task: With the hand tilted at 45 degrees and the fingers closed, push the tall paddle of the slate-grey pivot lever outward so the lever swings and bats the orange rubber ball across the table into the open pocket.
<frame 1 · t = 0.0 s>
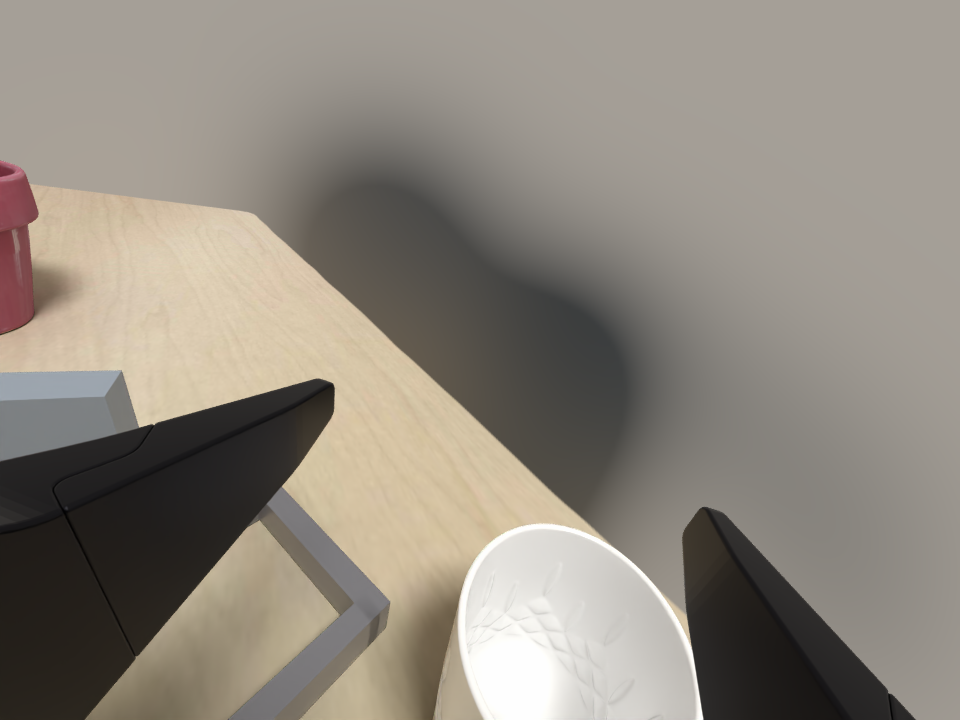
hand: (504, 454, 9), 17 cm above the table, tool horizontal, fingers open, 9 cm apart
pocket: (224, 627, 19), on the table
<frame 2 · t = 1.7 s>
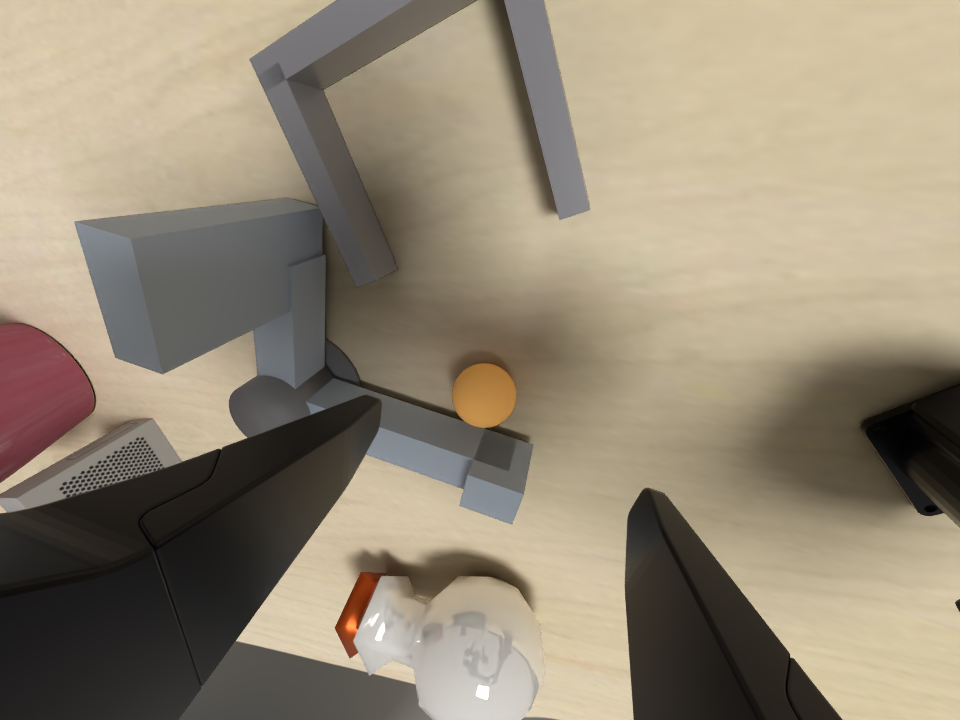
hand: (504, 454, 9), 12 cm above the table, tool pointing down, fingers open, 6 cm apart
pivot plate: (314, 379, 26), on the table
plant pot: (52, 371, 33), on the table
lever: (365, 396, 18), point 5 cm above the table, hinge at 0.0°
potion bottle: (460, 583, 32), on the table
ball: (484, 395, 21), point 2 cm above the table
pocket: (440, 144, 18), on the table
cassette player: (193, 487, 36), on the table
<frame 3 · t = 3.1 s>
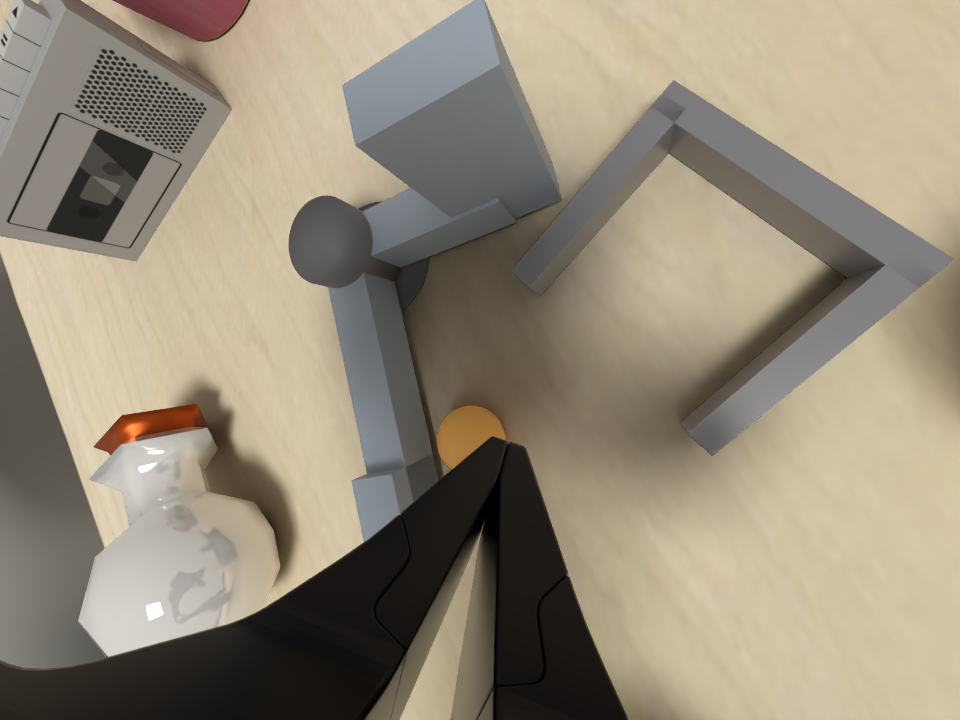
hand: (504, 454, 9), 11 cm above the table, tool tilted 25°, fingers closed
pivot plate: (378, 261, 24), on the table
lever: (418, 338, 16), point 5 cm above the table, hinge at 0.0°
potion bottle: (244, 504, 29), on the table
ball: (471, 439, 20), point 2 cm above the table
pocket: (679, 282, 18), on the table
cassette player: (177, 181, 31), on the table
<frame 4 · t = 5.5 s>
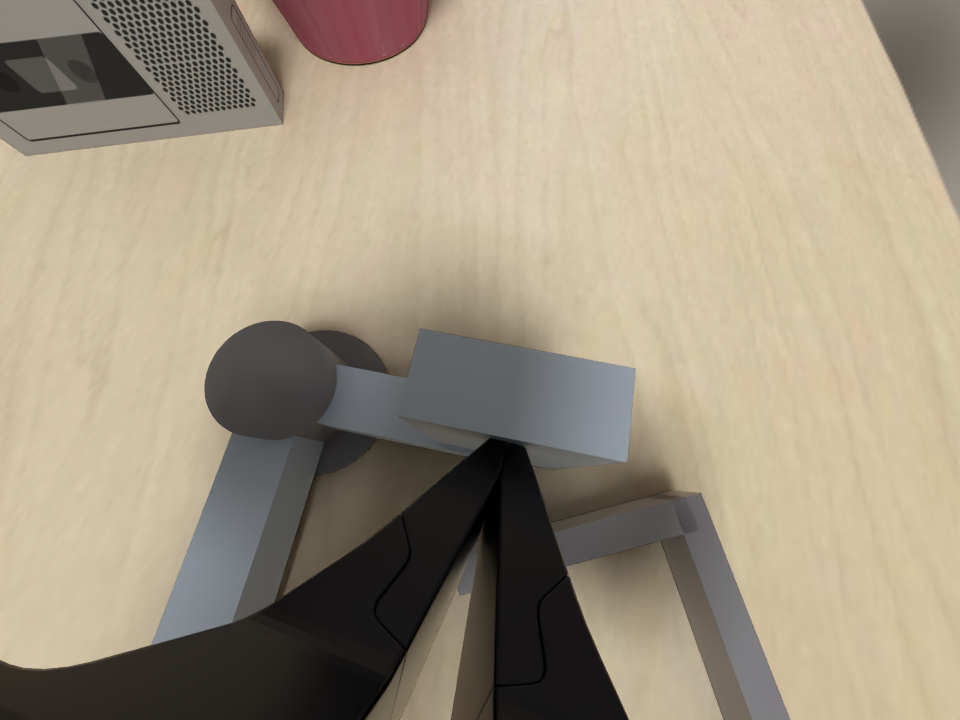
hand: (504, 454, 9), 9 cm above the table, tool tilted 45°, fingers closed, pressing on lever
pivot plate: (318, 400, 19), on the table
plant pot: (362, 20, 27), on the table
lever: (320, 606, 11), point 5 cm above the table, hinge at 6.7°, touching gripper
pocket: (602, 671, 15), on the table
cassette player: (161, 127, 24), on the table
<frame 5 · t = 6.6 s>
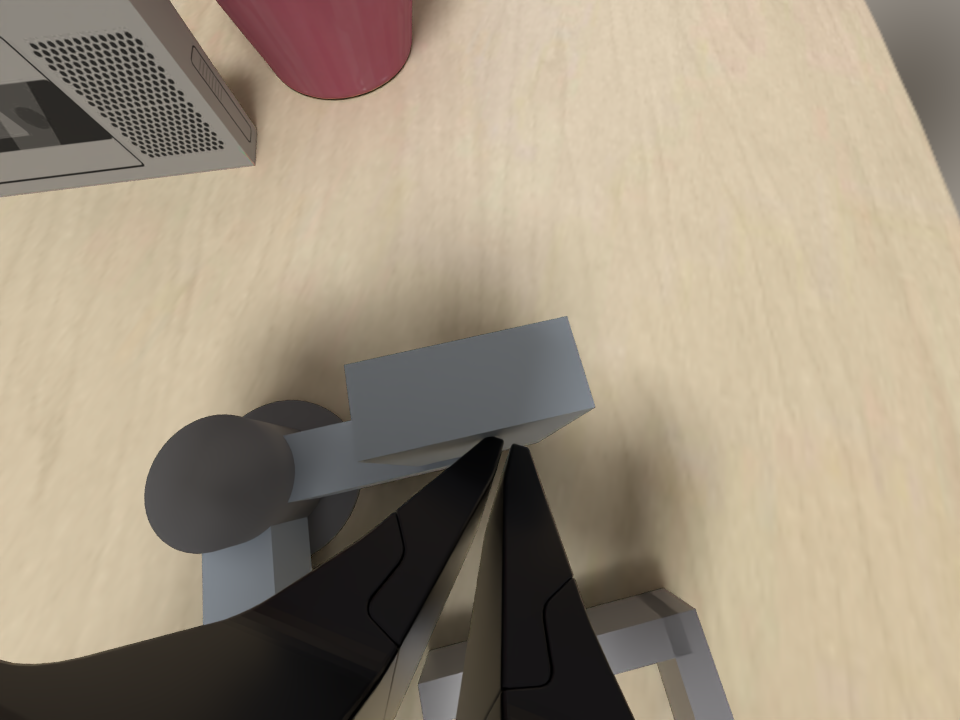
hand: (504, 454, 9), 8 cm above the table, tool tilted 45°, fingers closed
pivot plate: (284, 478, 17), on the table
plant pot: (343, 49, 25), on the table
lever: (367, 683, 10), point 5 cm above the table, hinge at 31.1°, touching gripper
cassette player: (127, 167, 23), on the table
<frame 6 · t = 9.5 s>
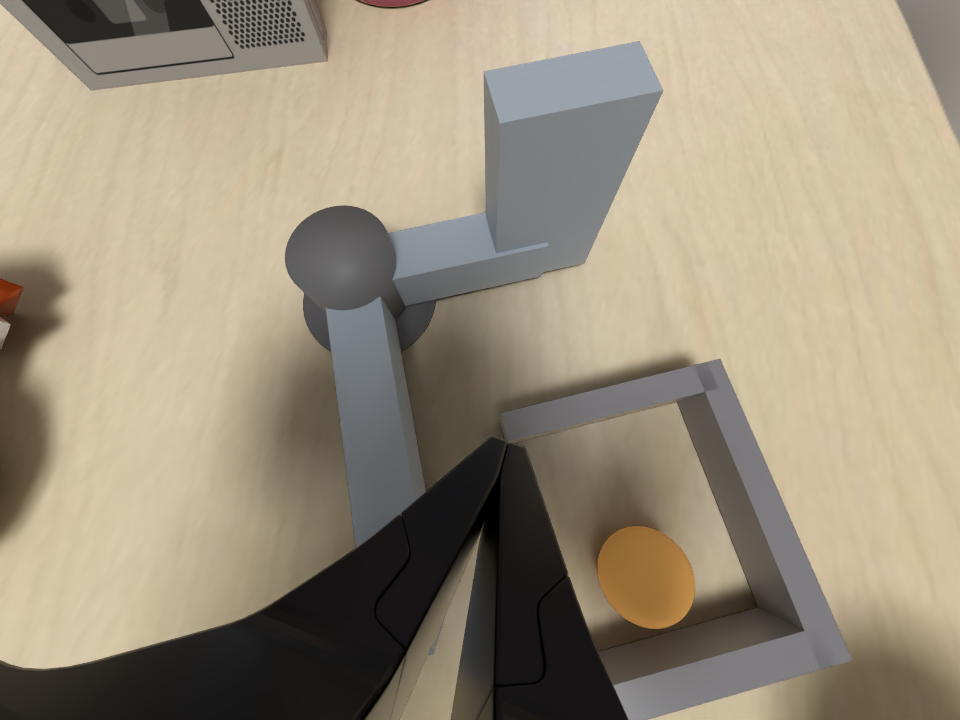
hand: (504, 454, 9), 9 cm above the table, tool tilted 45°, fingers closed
pivot plate: (370, 298, 21), on the table
lever: (477, 364, 14), point 5 cm above the table, hinge at 31.2°
ball: (644, 574, 15), point 2 cm above the table, tilted 48°
pocket: (630, 519, 17), on the table
cassette player: (214, 65, 26), on the table
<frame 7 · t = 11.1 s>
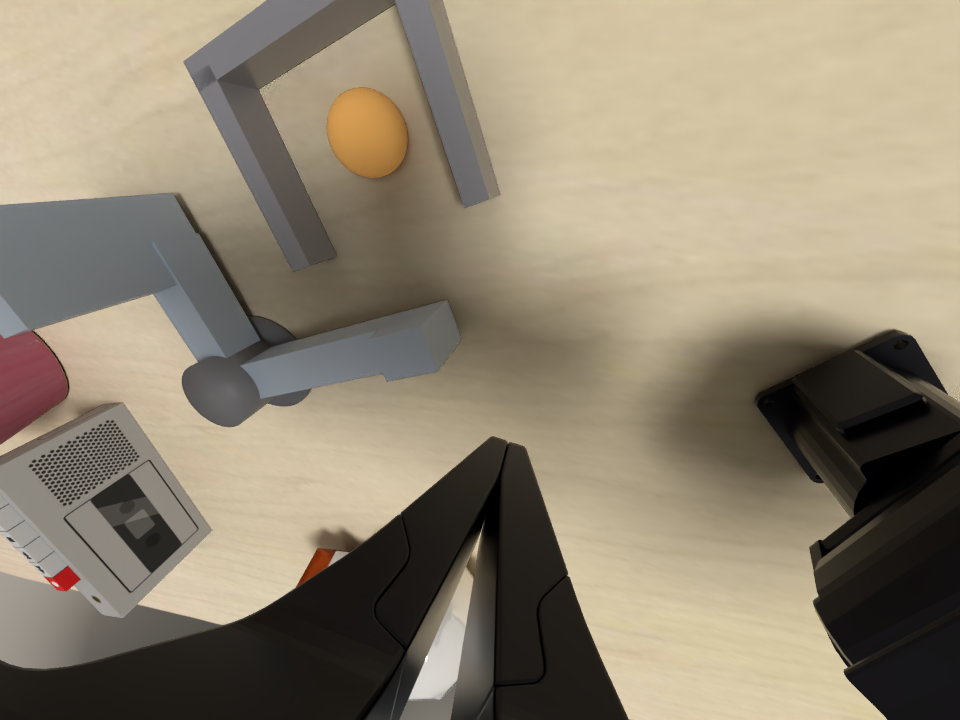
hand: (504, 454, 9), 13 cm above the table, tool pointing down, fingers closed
pivot plate: (268, 362, 27), on the table
plant pot: (27, 358, 35), on the table
lever: (236, 306, 19), point 5 cm above the table, hinge at 31.2°
potion bottle: (414, 559, 34), on the table
ball: (368, 134, 17), point 2 cm above the table, tilted 70°
pocket: (365, 139, 19), on the table
cassette player: (164, 469, 37), on the table
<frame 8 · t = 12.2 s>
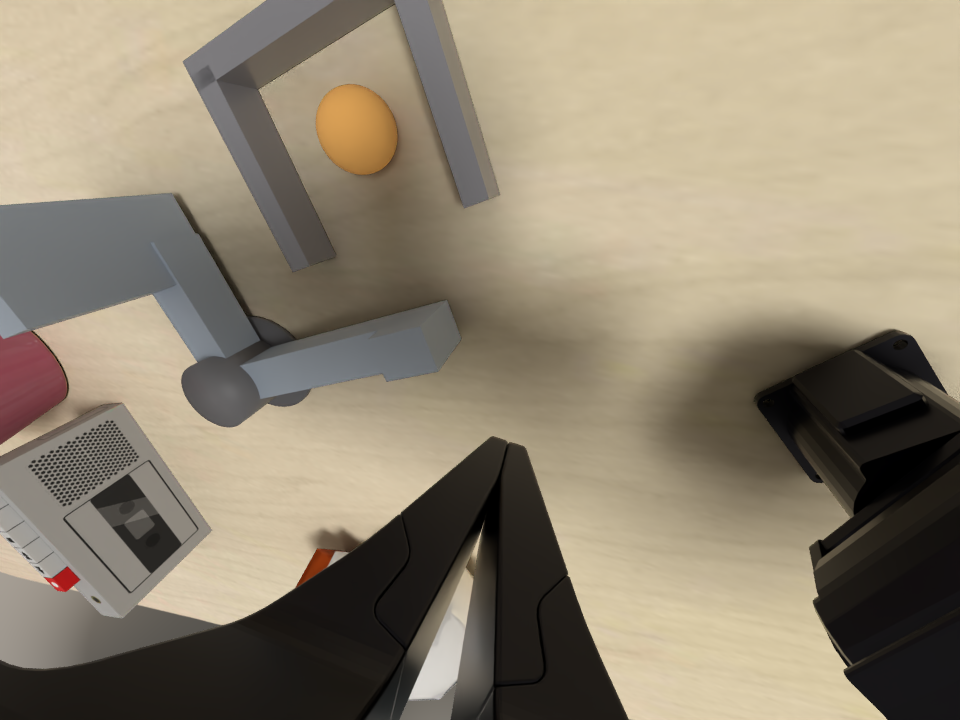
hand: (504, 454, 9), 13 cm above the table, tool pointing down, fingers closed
pivot plate: (268, 362, 27), on the table
plant pot: (27, 358, 34), on the table
lever: (236, 306, 19), point 5 cm above the table, hinge at 31.2°
potion bottle: (413, 559, 34), on the table
ball: (357, 131, 17), point 2 cm above the table, tilted 86°
pocket: (364, 139, 19), on the table
cassette player: (164, 470, 37), on the table
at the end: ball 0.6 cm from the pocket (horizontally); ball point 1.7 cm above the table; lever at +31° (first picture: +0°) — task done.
